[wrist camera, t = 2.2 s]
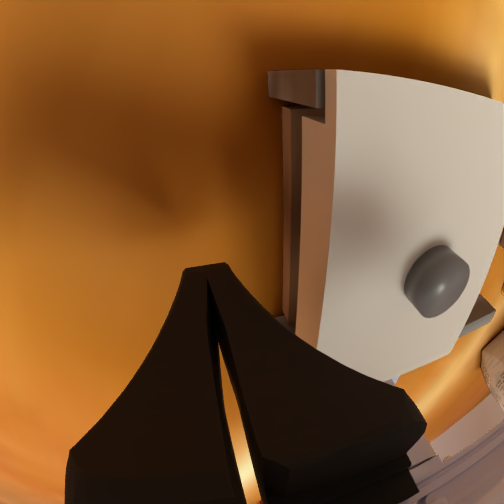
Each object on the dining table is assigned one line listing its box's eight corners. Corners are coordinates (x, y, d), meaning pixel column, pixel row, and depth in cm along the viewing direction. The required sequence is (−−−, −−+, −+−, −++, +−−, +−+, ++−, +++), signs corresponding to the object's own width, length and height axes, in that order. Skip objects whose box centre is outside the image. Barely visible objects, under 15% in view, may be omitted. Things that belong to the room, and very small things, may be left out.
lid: (429, 327, 16) (459, 365, 13) (292, 370, 14) (313, 424, 12) (486, 98, 9) (545, 118, 6) (301, 69, 8) (359, 69, 5)
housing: (452, 283, 19) (490, 321, 15) (273, 330, 17) (297, 395, 13) (492, 101, 12) (551, 122, 8) (267, 71, 10) (315, 68, 6)
